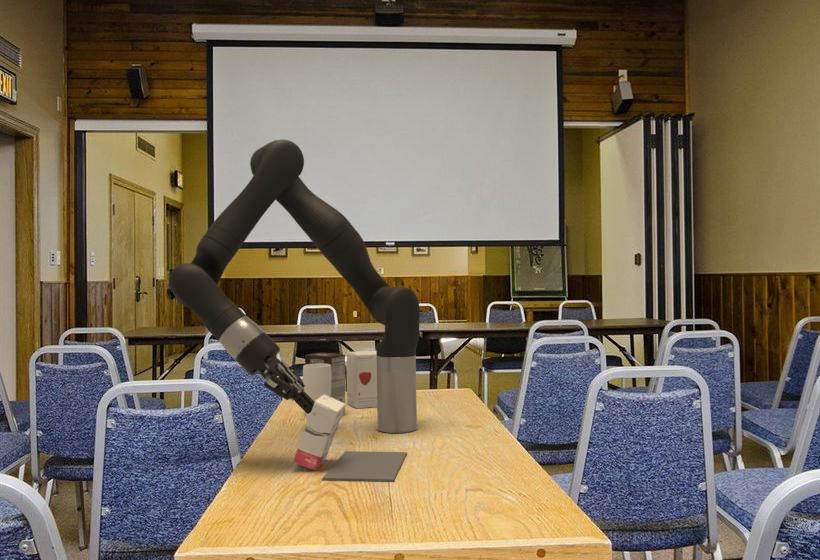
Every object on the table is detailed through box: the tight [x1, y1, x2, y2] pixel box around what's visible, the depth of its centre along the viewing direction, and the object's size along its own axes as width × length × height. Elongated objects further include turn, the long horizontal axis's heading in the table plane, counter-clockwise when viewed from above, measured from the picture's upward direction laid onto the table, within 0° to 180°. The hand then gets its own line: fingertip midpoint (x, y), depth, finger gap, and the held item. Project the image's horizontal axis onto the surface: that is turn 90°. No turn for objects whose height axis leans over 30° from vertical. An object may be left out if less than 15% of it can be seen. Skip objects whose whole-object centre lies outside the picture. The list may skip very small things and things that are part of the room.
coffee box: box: [304, 352, 346, 417], centre depth 167 cm, size 9×6×16 cm
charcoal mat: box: [321, 450, 408, 483], centre depth 119 cm, size 18×12×1 cm
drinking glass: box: [302, 364, 332, 423], centre depth 152 cm, size 7×7×15 cm
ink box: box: [293, 395, 347, 472], centre depth 120 cm, size 9×5×12 cm, turn 175°
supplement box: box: [346, 350, 377, 409], centre depth 181 cm, size 9×9×15 cm
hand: (312, 409), depth 120 cm, fingers closed
